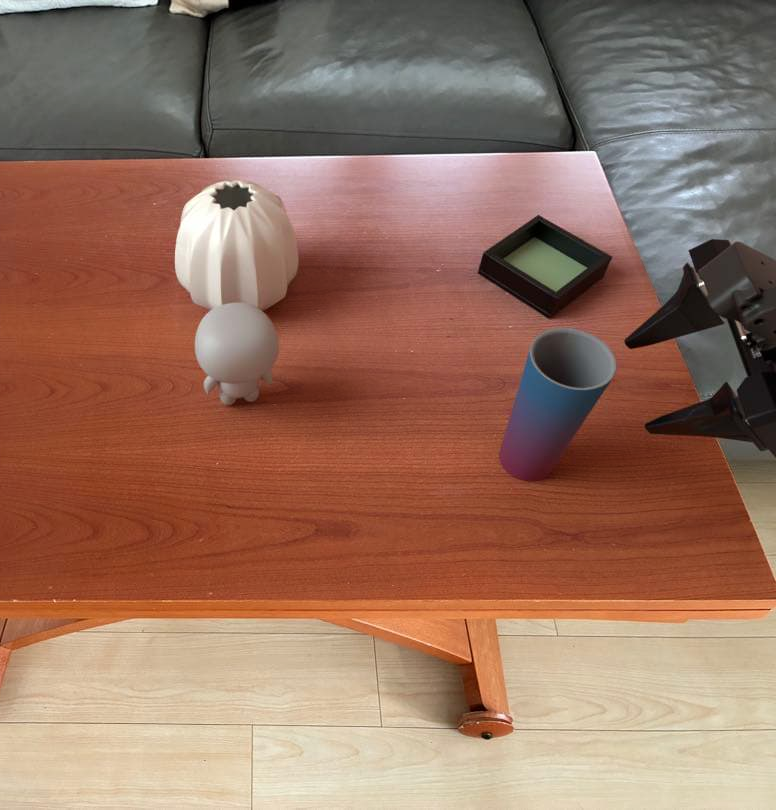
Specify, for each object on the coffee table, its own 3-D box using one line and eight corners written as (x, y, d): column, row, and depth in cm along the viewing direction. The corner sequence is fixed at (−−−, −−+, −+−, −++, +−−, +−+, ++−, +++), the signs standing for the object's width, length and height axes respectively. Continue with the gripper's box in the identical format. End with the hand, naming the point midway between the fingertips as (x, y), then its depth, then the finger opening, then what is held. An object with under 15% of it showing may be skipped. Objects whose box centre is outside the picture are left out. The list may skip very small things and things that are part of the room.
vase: (310, 264, 93) (315, 169, 82) (271, 344, 85) (271, 251, 75) (206, 240, 96) (197, 146, 86) (159, 315, 89) (144, 222, 78)
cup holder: (603, 277, 90) (612, 256, 87) (549, 319, 86) (557, 298, 83) (531, 235, 95) (538, 214, 92) (477, 273, 91) (483, 252, 88)
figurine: (270, 367, 83) (269, 285, 74) (284, 422, 78) (286, 342, 69) (196, 379, 82) (186, 298, 73) (206, 435, 78) (197, 356, 68)
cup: (565, 493, 72) (622, 393, 60) (491, 485, 73) (533, 385, 61) (558, 435, 76) (611, 331, 64) (488, 428, 77) (527, 324, 65)
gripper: (774, 148, 56) (571, 254, 66) (869, 333, 45) (607, 428, 55) (828, 239, 62) (633, 325, 71) (924, 425, 50) (676, 496, 60)
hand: (636, 385), depth 64 cm, fingers open, 9 cm apart
